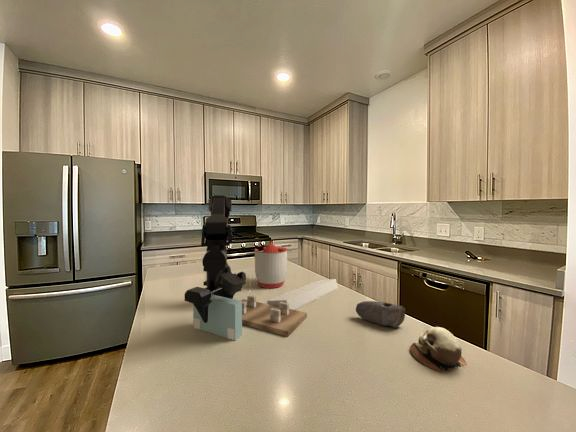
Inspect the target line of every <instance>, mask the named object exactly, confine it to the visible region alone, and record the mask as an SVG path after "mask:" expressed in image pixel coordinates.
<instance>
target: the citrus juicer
mask: <svg viewBox="0 0 576 432" xmlns="http://www.w3.org/2000/svg"><path fill="white" fill-rule="evenodd" d="M259 250H260V249H258V248H254V256H253V259H254V273H255V279H256V282H257V284H258V286H259V287H262V288H267V289H276V288H279V287H282V286H283V285H284V282H285V280H286V276H287V271H288V269H287V268H288V248H286V247H281V246H276V245H275V244H274V243H273V242H269V243H268V245H267V246H263V249H262V250H263V251H259Z"/></svg>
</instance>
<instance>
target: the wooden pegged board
mask: <svg viewBox="0 0 576 432" xmlns="http://www.w3.org/2000/svg"><path fill="white" fill-rule="evenodd" d="M240 301H242V326H243V325H244V326H247V327H252V328H256V329H258V330H261V331H266V332H270V333H273V334H277V335H280V336H282V337H283V336H284V337H287V338H288V337H289V336H291V334H292V333H293V332H294V331H296V330H297V328H298V327H299V326H300V325H301V324H302V323H303V322H304V321H305V319H307V317H308V314H307V313H308V312H305V311H301V310H292V309H289V303H285V302H280V303H279V307H278V306H273V305H269V304H268V303H263V302H259V301H257V296H255V295H250V294H249V295H247V296H246V299H245V298H243V299H242V300H240Z"/></svg>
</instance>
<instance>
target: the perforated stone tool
mask: <svg viewBox="0 0 576 432" xmlns="http://www.w3.org/2000/svg"><path fill="white" fill-rule="evenodd" d="M355 312H356V314H357V316H359V317H360V318H361V319H363V320H365V321H368V322H371V323H373V324H376V325H379V326H382V327H383V326H384V327H386V326H387V327H388V326H390V327H392V328H393V329H394V328H397V327H399V326H401V325H402V324H403V323H404V321H405V317H406V308H404V306H403V305H399V304H394V303H391V302H387V301H386V302H384V301H377V300H374V301H373V300H372V301H371V300H367V301H361V302H359V303H357V304H356V307H355Z"/></svg>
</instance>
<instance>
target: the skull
mask: <svg viewBox="0 0 576 432" xmlns="http://www.w3.org/2000/svg"><path fill="white" fill-rule="evenodd" d="M409 349H410V353H411V355H412V356H413V357H414V358H415V359H416V360H417V361H419V362H420V363H421V364H422V365H424V366H426V367H427V368H430V369H433V370H434V371H438V372H442V373H446V374H448V372H451V369H452V368H457V369H458V368H465V367H467V366H468V363H467V361H466V360H465V358H464V357H463V356H462V353H463V352H462V350H463V349H462V346H461V344H460V343H459V341H458V339H457V338H456V337H455V336H454V334H453V333H452V332H450V331H449V330H447V329H446V328H444V327H440V326H432V327H430V328H428V329H427V330H426V331H425V332H423V333H422V334H421V335H419V336H418V339H417V340H415V342H413V343H412V344H411V345H410V348H409Z"/></svg>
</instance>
